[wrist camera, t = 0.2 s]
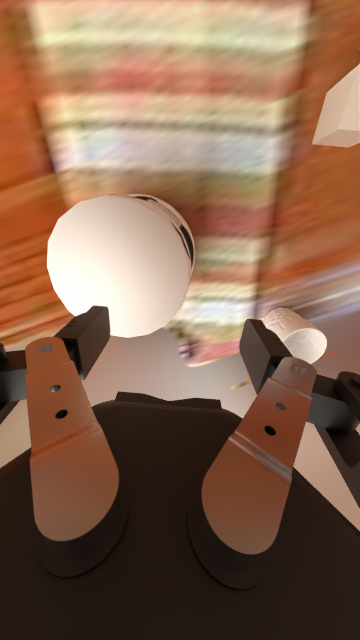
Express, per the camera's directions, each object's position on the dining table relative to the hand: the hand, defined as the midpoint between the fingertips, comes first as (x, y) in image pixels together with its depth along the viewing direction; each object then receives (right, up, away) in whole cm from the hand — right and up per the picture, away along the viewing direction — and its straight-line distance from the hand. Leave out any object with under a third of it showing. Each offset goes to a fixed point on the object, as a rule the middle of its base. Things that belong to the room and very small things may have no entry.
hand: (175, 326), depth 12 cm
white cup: (+21, 0, +32) cm, 38 cm away
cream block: (+23, +29, +17) cm, 40 cm away
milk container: (-6, +13, +26) cm, 30 cm away
